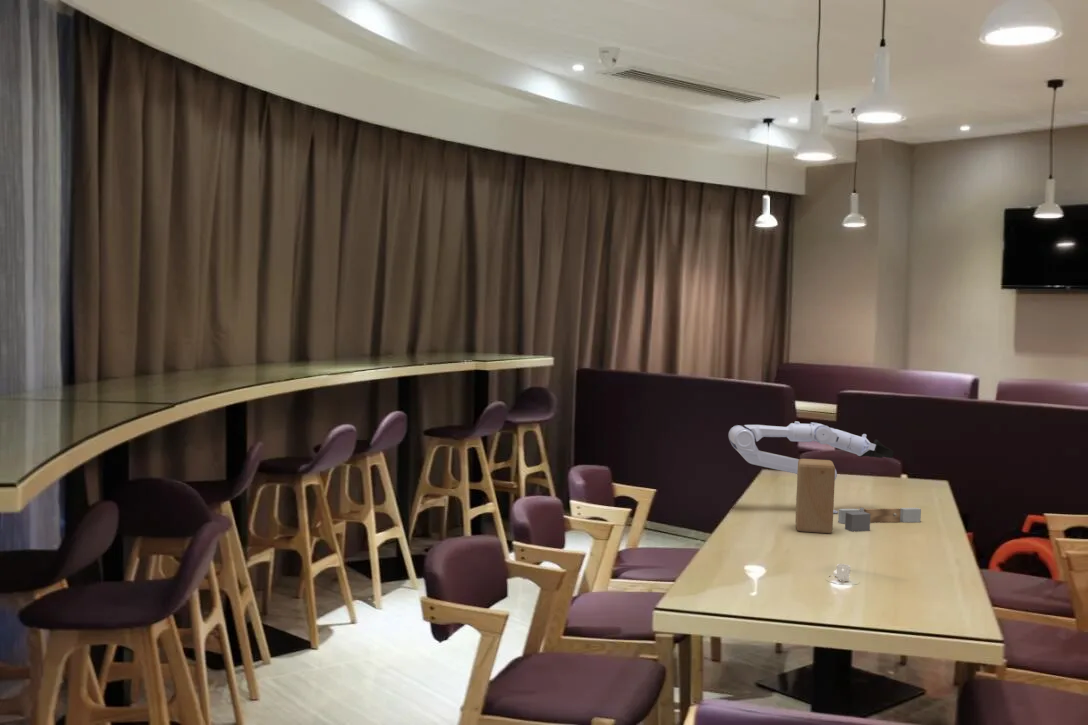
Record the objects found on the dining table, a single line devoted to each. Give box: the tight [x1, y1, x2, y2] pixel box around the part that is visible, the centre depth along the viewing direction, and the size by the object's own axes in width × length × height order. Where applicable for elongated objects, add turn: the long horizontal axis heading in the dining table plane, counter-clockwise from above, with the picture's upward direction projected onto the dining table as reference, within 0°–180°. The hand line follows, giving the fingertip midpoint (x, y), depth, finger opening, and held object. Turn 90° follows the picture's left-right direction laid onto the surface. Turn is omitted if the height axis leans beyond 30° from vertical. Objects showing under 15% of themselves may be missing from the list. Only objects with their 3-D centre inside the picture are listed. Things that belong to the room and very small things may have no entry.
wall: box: [837, 507, 922, 525], centre depth 305 cm, size 26×2×4 cm, turn 100°
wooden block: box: [794, 458, 836, 534], centre depth 292 cm, size 10×10×20 cm
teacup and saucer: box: [832, 563, 851, 582], centre depth 240 cm, size 9×8×4 cm
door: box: [864, 507, 901, 524], centre depth 305 cm, size 12×2×4 cm, turn 100°
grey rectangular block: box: [844, 512, 871, 532], centre depth 294 cm, size 6×4×5 cm, turn 105°
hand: (887, 454), depth 318 cm, fingers open, 7 cm apart
